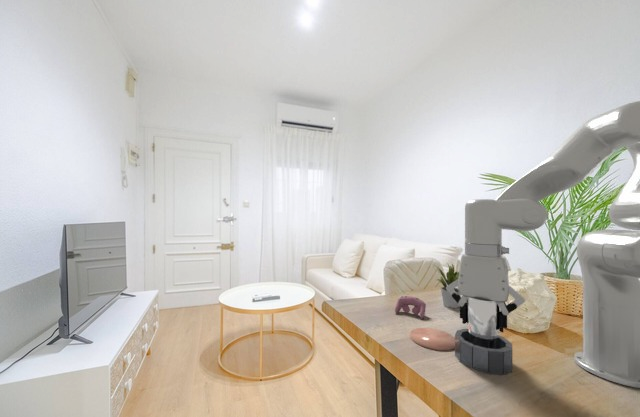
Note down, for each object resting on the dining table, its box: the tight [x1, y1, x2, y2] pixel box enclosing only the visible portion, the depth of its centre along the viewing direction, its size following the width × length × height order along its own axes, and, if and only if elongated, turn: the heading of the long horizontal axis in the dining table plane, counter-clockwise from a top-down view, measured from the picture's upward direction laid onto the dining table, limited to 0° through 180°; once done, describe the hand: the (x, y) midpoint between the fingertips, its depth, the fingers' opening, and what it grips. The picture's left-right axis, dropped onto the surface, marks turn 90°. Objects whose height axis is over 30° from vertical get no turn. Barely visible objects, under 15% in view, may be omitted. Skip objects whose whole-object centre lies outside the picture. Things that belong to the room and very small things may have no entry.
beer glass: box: [466, 297, 501, 349], centre depth 63 cm, size 7×7×15 cm
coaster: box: [409, 327, 455, 352], centre depth 73 cm, size 12×12×1 cm
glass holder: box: [454, 328, 513, 376], centre depth 62 cm, size 11×11×5 cm
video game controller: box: [394, 295, 427, 320], centre depth 92 cm, size 10×5×7 cm, turn 58°
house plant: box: [435, 263, 462, 309], centre depth 99 cm, size 14×14×16 cm
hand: (482, 325), depth 63 cm, fingers closed on beer glass, 6 cm apart
